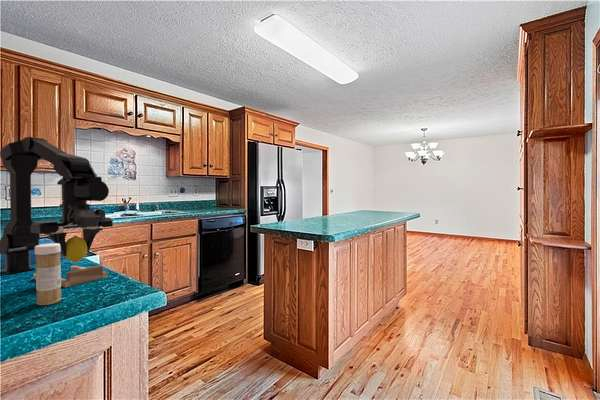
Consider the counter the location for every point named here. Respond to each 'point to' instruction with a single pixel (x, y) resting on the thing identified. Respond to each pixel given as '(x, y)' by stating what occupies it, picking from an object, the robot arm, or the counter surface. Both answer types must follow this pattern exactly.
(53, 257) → the sprinkles bottle
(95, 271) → the channel
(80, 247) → the lemon
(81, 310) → the counter surface
